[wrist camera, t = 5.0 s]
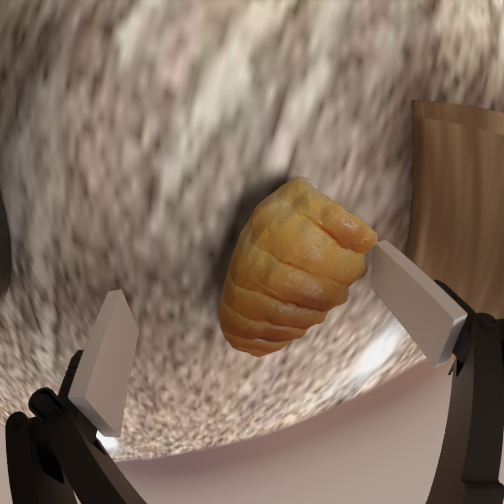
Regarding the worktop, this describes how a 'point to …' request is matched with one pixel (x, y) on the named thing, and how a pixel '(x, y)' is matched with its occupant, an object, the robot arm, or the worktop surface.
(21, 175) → the worktop surface
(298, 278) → the pastry
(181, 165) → the worktop surface
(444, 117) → the box
